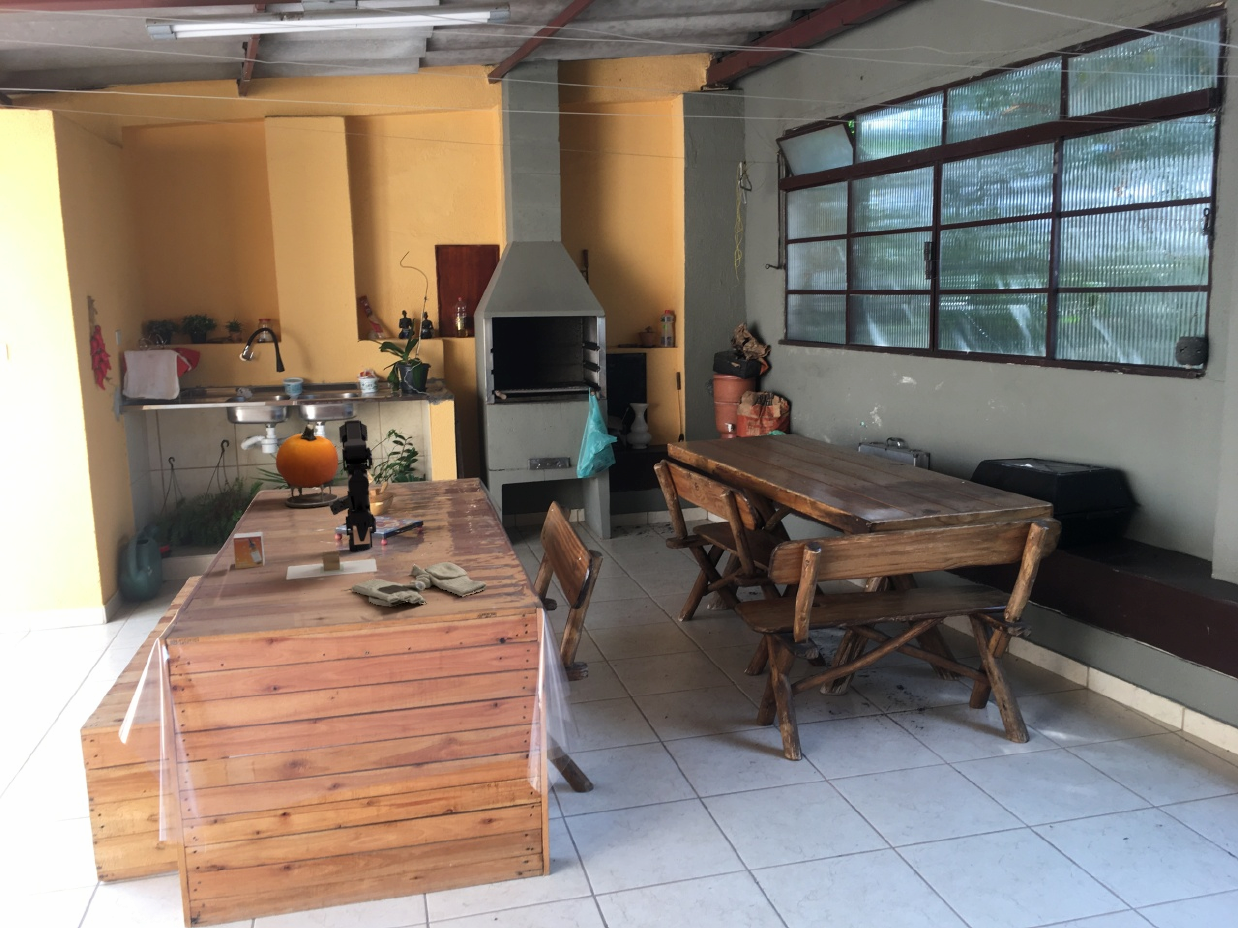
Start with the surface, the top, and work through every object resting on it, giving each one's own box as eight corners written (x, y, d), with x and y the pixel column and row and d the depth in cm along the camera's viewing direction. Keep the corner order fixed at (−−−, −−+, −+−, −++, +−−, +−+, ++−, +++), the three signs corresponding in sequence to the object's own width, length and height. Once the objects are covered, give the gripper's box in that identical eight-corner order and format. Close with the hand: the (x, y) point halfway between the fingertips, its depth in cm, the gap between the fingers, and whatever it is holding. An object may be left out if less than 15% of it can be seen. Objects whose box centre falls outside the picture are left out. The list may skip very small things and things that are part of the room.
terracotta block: (354, 540, 302) (353, 525, 301) (369, 539, 303) (368, 524, 302) (354, 544, 298) (353, 529, 297) (370, 543, 299) (369, 528, 298)
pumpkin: (274, 500, 393) (268, 423, 388) (333, 493, 404) (328, 417, 398) (285, 512, 374) (278, 430, 368) (347, 504, 385) (341, 425, 379)
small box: (235, 572, 302) (232, 538, 299) (237, 567, 307) (234, 533, 305) (264, 570, 304) (261, 535, 302) (265, 564, 309) (262, 530, 307)
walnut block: (324, 566, 301) (323, 551, 300) (340, 565, 302) (338, 550, 301) (323, 570, 297) (322, 555, 296) (340, 569, 298) (338, 554, 297)
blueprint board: (375, 562, 309) (375, 558, 309) (377, 575, 297) (376, 570, 296) (288, 570, 303) (288, 565, 302) (286, 583, 290) (286, 578, 290)
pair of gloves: (388, 616, 263) (387, 596, 262) (349, 592, 283) (348, 573, 282) (491, 592, 281) (490, 574, 280) (448, 571, 301) (447, 553, 300)
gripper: (329, 482, 304) (333, 533, 307) (329, 496, 286) (333, 550, 289) (368, 480, 307) (371, 530, 310) (370, 493, 289) (373, 546, 292)
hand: (361, 539), depth 300 cm, fingers closed on terracotta block, 4 cm apart
